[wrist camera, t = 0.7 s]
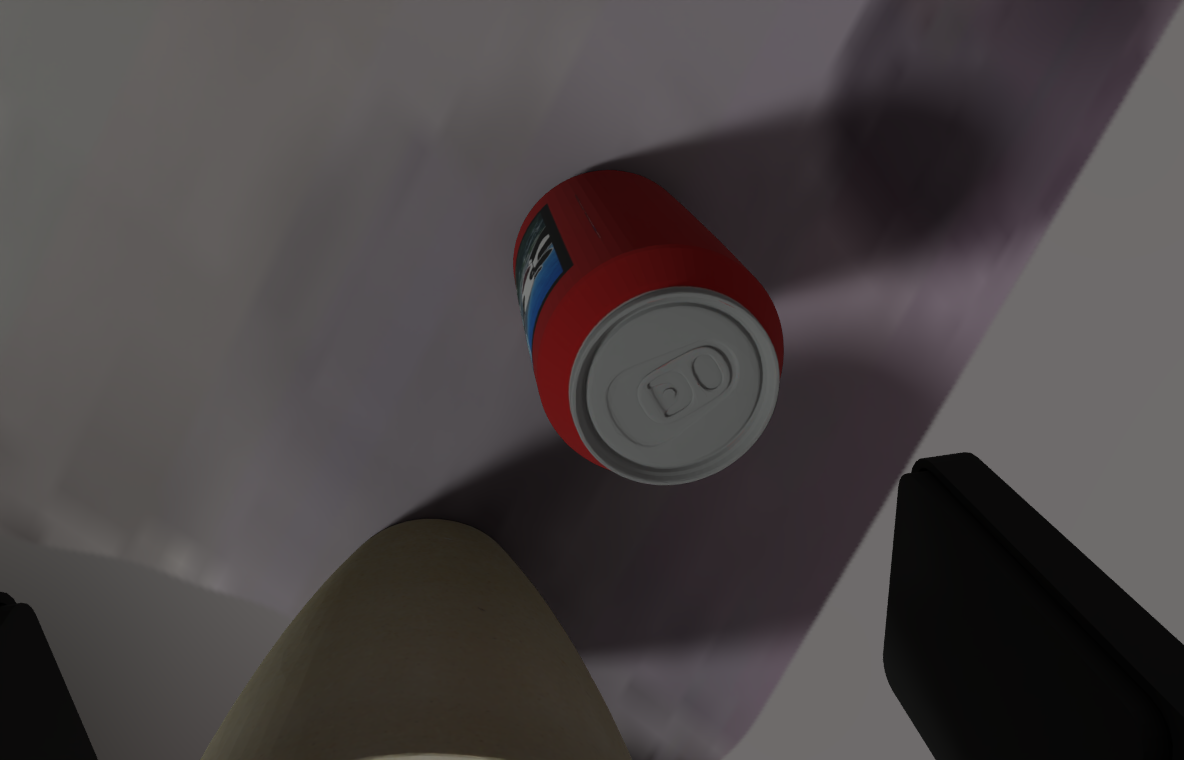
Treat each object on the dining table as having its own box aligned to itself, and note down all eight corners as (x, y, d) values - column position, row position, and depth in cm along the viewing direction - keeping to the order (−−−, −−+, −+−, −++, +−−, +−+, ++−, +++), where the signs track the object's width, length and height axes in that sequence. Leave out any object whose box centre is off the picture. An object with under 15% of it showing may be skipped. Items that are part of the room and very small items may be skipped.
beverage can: (474, 226, 32) (489, 356, 21) (638, 127, 31) (739, 209, 20) (568, 371, 35) (624, 551, 24) (720, 283, 34) (846, 426, 23)
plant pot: (393, 365, 34) (352, 658, 19) (667, 560, 39) (794, 900, 25) (167, 622, 37) (-12, 1038, 22) (450, 769, 42) (452, 1176, 28)
